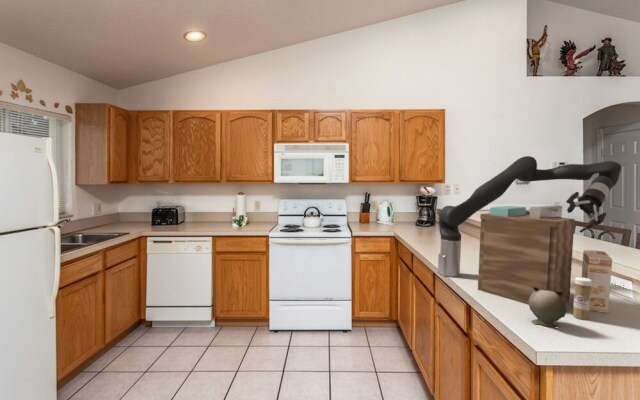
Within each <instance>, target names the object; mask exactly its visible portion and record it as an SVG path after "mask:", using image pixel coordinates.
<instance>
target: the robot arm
mask: <svg viewBox="0 0 640 400" xmlns="http://www.w3.org/2000/svg"><path fill="white" fill-rule="evenodd" d="M621 172H622V165H621V164H620V163H619V162H616V161H611V160H608V161H607V160H606V161H600V162H593V163H589V164H584V163H583V164H582V163H581V164H580V163H579V164H577V163H569V164H564V165H559V166H556V167H554V168H553V167H552V168H549V169H538V162H537V160H536V158H534V157H533V156H528V155H527V156H525V155H524V156H522V157H520V158H518V159H517V160H515V161H514V162H512V164H510V165H509V166H508V167H506V168H505V169H504V170H502V171H501V172H500V173H498V174H497V175H495V176H494V177H492V178H490V179H489V180H488V181H486V182H484V183H483V184H481V185H480V186H478V187H477V188H476V189H475V190H474V191H473V192H472V193H471V195H470V197H469V198H467V199H466V200H464V201H463V202H461V203H459V204H458V205H455V206H454V205H446V206H443V207H442V208H441V209H440V212H439V235H440V248H439V249H440V253H438V258H437V259H438V260H437V266H438V267H437V273H438V274H440V275H441V276H443V277H453V278H454V277H456V278H457V277H460V275H461V253H462V252H461V251H462V234H461V232H460V231H459V226H460V225H462V224H463V223H465V222H466V221H467V220H468V219H470V217H472V216H473V215H474V214H475V213H477V212H479V211H481V210H482V209H483V208H486V207H487V206H488V205H490V204H492V203H493V202H495V201H496V200H497V199H499V198H501V197H502V196H503V195H504V194H505V193H506V192H507V190H509V187H510V186H511V185H512V183H514V182H515V181H516V180H518V181H520V182H540V181H552V180H553V181H554V180H573V181H575V180H577V181H589V180H591V178H592V177H593V175H595V174H597V176H596V177H595V178H594V179H593V180H592V181H591V183H590V184H589V185H588V186H587V188H586V189H584V192H583V193H582V195H580V192H578V191H576V192H574V193H572V194H571V195H570V196H569V197H568V199H566V201H565V202H566V203H567V204H568V205H569V206H568V207H567V209H566V212H567V214H570V213H572V212H573V211H574V210H575V208H579V209H580V210H581V211H583V212H584V213H585V214H586V215H587V216H586V217H587V218H588V219H589V221H588V223H587V224H586V225H585V228H586V229H591V228H592V227H594V226H598V225H601V224H603V222H604V220H605V218H606V217H607V213H606V212H601V211H600V208H601V207H602V205H603V204H604V203H605V201H606V199H607V197H608V196H609V193H610V191H611V190H612V189H613V187H615V186H616V185H617V183H618V181H619V179H620V175H621ZM576 199H577V201H574V200H576Z"/></svg>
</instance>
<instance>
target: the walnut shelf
mask: <svg viewBox="0 0 640 400" xmlns="http://www.w3.org/2000/svg"><path fill="white" fill-rule="evenodd" d="M479 215H480V231H479V234H480V235H479V253H478V254H479V255H478V257H479V258H478V259H479V260H478V275H477V277H478V278H477V279H478V280H477V290H479V291H481V290H482V292H483V291H484V292H485V293H487V294H491V295H495V296H498V297H501V298H503V299H504V298H505V299H509V300H512V301H515V302H519V303H522V304H524V305H525V304H526V305H529V298H530V296H531V294H532V293H533V292H534V291H535V290H534V289H533V287H536V288H538V290H550V291H553V292H562V295H561V296H562V297H563V298H564V300H565V302H566V305H567V304H569V303H570V295H571V293H570V292H571V282H572V281H571V279H572V267H573V266H572V263H573V262H572V261H573V246H574V233H575V225H576V222H575V221H576V219H575V218H570V217H569V218H568V217H560V216H556V217H549V218H542V219H536V218H530V214H527V213H526V214H525V215H516V216H508V217H507V216H497V215H490V212H489V213H480V214H479Z"/></svg>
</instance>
